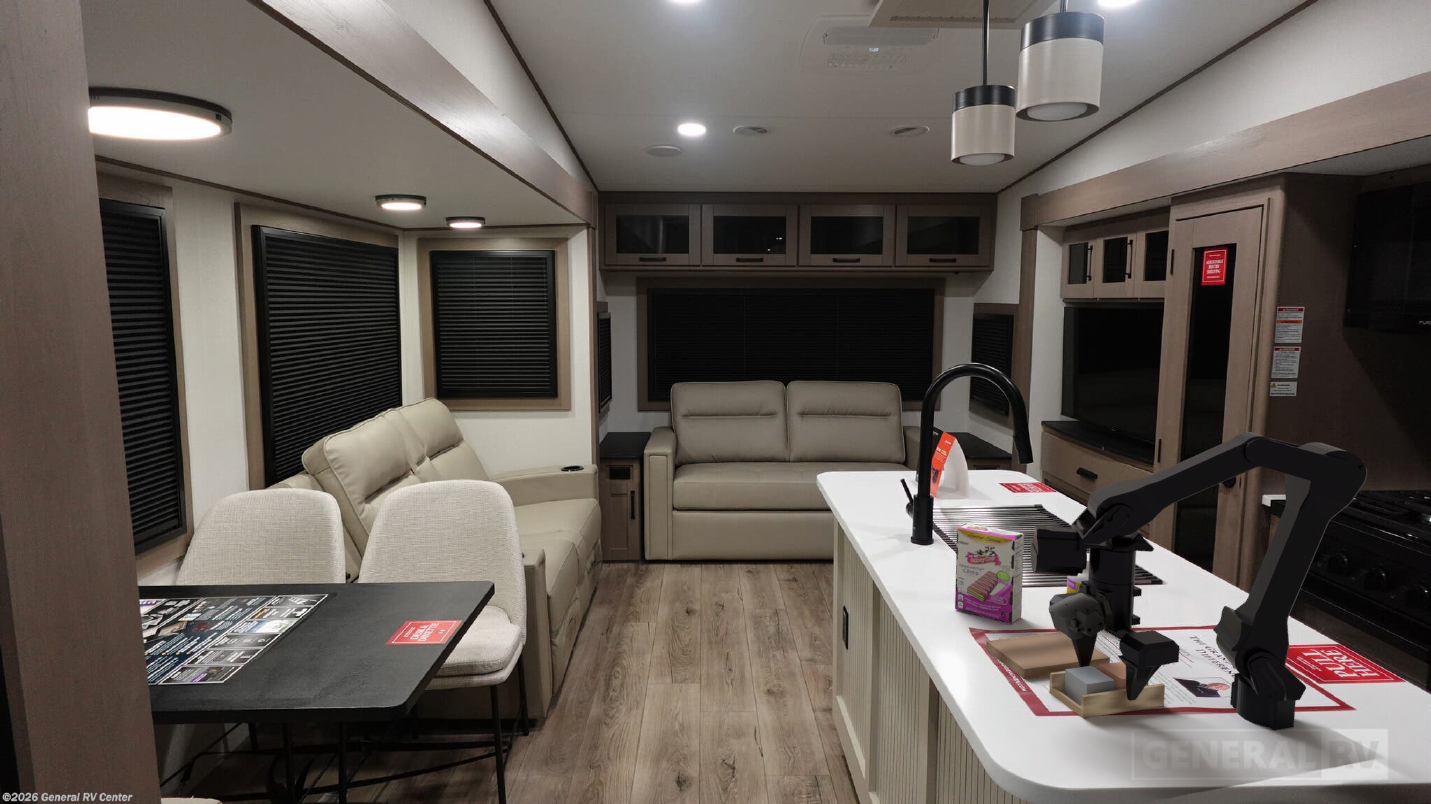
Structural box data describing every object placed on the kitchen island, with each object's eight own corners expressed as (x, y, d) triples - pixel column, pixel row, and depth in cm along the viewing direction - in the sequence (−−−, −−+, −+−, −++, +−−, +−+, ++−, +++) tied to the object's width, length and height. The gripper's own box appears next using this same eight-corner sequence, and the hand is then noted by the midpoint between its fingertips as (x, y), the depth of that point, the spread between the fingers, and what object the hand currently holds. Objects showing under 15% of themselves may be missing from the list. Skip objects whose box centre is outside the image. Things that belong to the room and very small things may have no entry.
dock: (1109, 676, 114) (1110, 657, 114) (1023, 688, 111) (1024, 669, 110) (1065, 648, 124) (1066, 631, 123) (986, 658, 120) (986, 641, 120)
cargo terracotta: (1147, 702, 103) (1148, 675, 103) (1120, 706, 102) (1121, 679, 102) (1123, 687, 108) (1125, 661, 107) (1097, 690, 107) (1099, 664, 106)
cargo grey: (1113, 707, 102) (1114, 680, 102) (1085, 711, 101) (1086, 684, 101) (1090, 691, 106) (1091, 665, 106) (1064, 695, 105) (1065, 669, 105)
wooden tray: (1125, 691, 109) (1126, 662, 109) (1163, 715, 102) (1164, 685, 102) (1048, 702, 107) (1050, 673, 106) (1082, 728, 100) (1083, 697, 99)
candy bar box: (953, 610, 140) (955, 527, 138) (965, 602, 144) (966, 521, 142) (1012, 626, 133) (1014, 538, 131) (1022, 617, 136) (1025, 532, 134)
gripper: (1019, 561, 110) (1016, 660, 111) (1110, 609, 92) (1105, 726, 93) (1083, 555, 112) (1080, 652, 114) (1185, 600, 94) (1179, 715, 96)
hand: (1106, 683), depth 104 cm, fingers open, 9 cm apart
